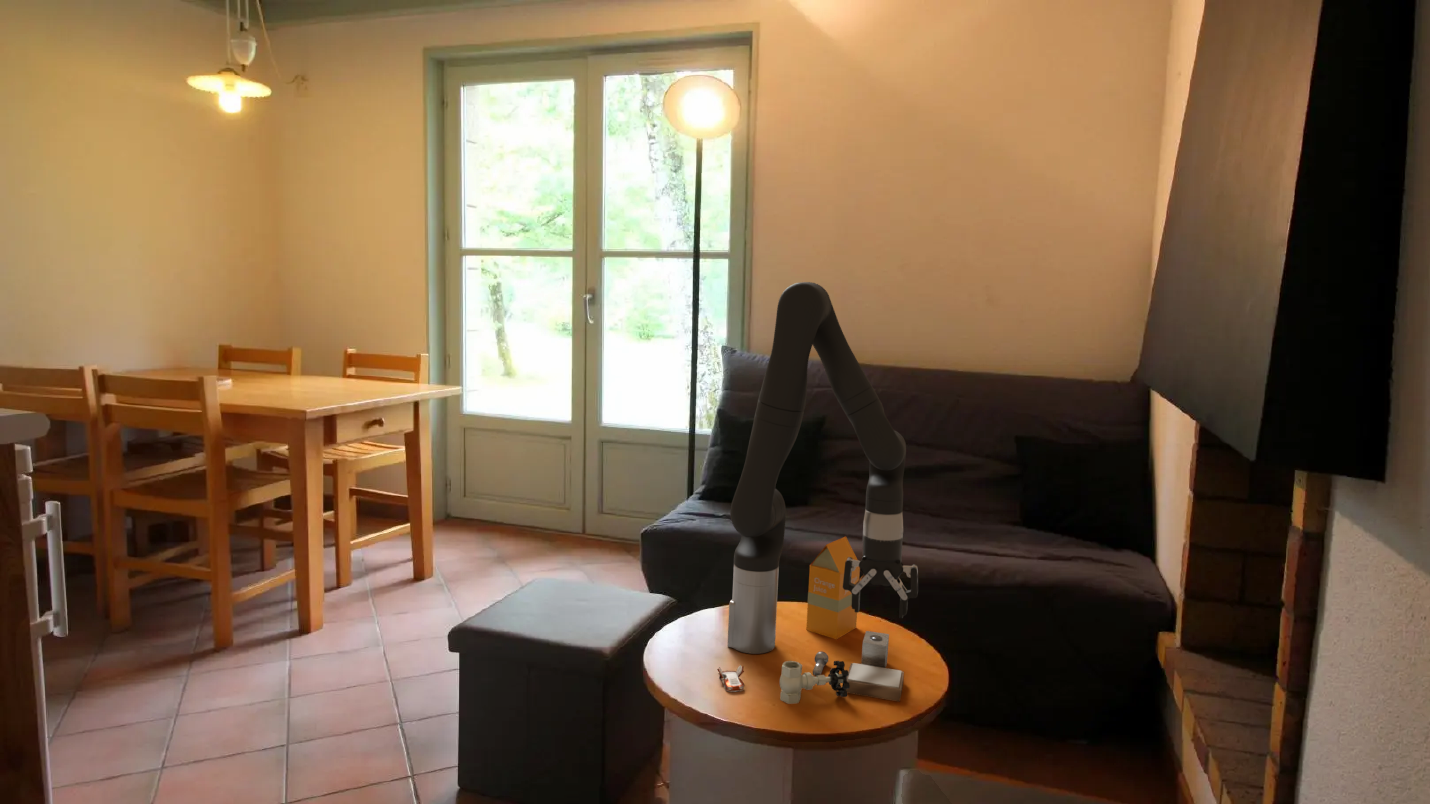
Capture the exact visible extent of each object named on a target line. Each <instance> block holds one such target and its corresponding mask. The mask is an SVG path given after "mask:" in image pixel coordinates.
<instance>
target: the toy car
mask: <svg viewBox="0 0 1430 804" xmlns="http://www.w3.org/2000/svg"><path fill="white" fill-rule="evenodd" d="M744 667H745V666H742V665H741V664H740V665H739V666H737V669H736V670H722V669H721V667H720V666H719V667H718V668H717V671H718V673H717V674H718V675H719V676H718V677H719V678H718V679H720V680H721V682H722V684H723V689H724V690H725V691H726V692H730V693H732V692H733V693H734V692H742V691H744V689H745V685H744V682H743V680H742V679H741V678H740V677H741V676H742V674H743V673H744V672H745V671H744Z"/></svg>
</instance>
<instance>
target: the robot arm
mask: <svg viewBox="0 0 1430 804" xmlns="http://www.w3.org/2000/svg"><path fill="white" fill-rule="evenodd" d="M830 297H831V296H830V295H829V293H828V292H827V290H826V289H825V288H824V287H823V286H822V285H820V284H819V283H815V282H811V281H802V282H795V283H793V284H791V285H789V286H787V288H785V289H784V290H783V292H782V293H781V295H780V296H779V298H778V303H777V307H776V308H777V309H776V318H775V324H774V325H775V326H774V332H773V333H774V335H773V339H772V340H773V342H772V348H771V353H770V356H769V360H768V363H767V366H766V369H765V371H764V372H765V373H764V377H763V379H762V380H763V381H762V385H761V387H760V388H761V389H760V392H759V396H758V399H757V404H756V409H755V413H754V418H753V422H752V423H753V424H752V428H751V433H750V437H749V442H748V446H747V451H746V455H745V460H744V461H745V462H744V465H743V469H742V472H741V476H740V478H739V481H738V484H737V487H736V490H735V491H734V495H733V498H732V501H731V505H730V511H729V513H730V520H731V521H730V522H731V524H732V525H733V528H734V529H735V531H736V532H737V533H738V534H739V535H741V538H740V541H739V543H738V545H737V546H736V548H735V551H734V553H733V576H732V577H733V578H732V599H730V601H729V604H728V624H727V625H728V628H727V647H729V648H732V649H734V650H736V651H738V652H741V653H744V654H745V653H746V654H752V655H753V654H755V655H757V654H766V653H769V652H771V651H773V650H774V649H775V647H776V636H777V635H776V633H777V632H776V630H777V629H776V628H777V614H778V613H777V610H778V608H777V607H778V592H779V591H778V589H779V588H778V587H779V568H780V566H779V565H780V559H781V556H782V551H783V548H784V542H785V541H784V540H785V530H786V515H787V509H786V503H785V500H784V497H783V495H782V493H781V492H780V491H779V490H778V489H777V488H776V486H777V485H776V484H777V481H778V478H779V475H780V472H781V470H782V468H783V467H784V464H785V461H786V460H787V458H788V456H789V455H790V452H791V450H792V448H793V447H794V444H795V442H796V440H797V437H798V434H799V432H800V428H801V425H802V421H803V418H804V412H805V408H806V405H807V404H806V403H807V398H808V397H807V395H808V367H809V359H810V358H809V357H810V356H811V355H810V354H811V351H812V347H814V350H815V351H816V353H817V355H818V357H819V359H820V362H821V363H822V365H823V368H824V370H825V374H826V376H827V380H828V382H829V385H830V387H831V389H832V392H833V395H834V397H835V398H836V400H837V402H838V403H839V405H840V407H841V409H842V410H843V412H844V415H845V416H846V418H847V419H848V420H849V422H850V424H851V425H852V427H853V429H854V432H855V434H856V436H857V439H858V442H859V444H860V446H861V449H862V450H863V452H864V454H865V457H866V458H867V460H868V461H869V468H868V470H869V471H868V473H869V475H868V476H869V478H868V481H867V485H866V489H865V491H866V492H865V510H864V516H863V523H862V524H863V525H862V526H863V528H862V545H861V546H862V547H861V549H862V552H861V560H859V559H857V560H853V559H852V558H851V557H848V558H847V560H846V562H845V570H844V579H843V589H844V590H848V591H850V592H851V593H852V605H851V607H852V609H855V612H857V614H859V612H860V608H861V607H860V604H861V603H860V602H861V590H862V589H863V588H864V587H865V586H866V585H867V584H868V583H870V584H871V585H873V586H877V585H878V586H879V585H881V586H883V587H889V586H891V587H892V588H893V589H894V591H895V592H897V594H898V595H899V597H900V598H899V607H898V608H899V609H898V611H899V612H898V618H899V619H903V618H904V616H906V615H907V613H908V604H909V602H908V601H909V599H916V598H918V593H919V570H918V568H919V566H918V565H917V564H915V563H913V564H912V565H904V564H903V562H902V557H903V555H902V554H903V534H904V518H903V510H904V509H903V507H904V486H903V485H904V483H903V482H904V475H905V473H904V472H905V465H906V454H907V444H906V441H905V439H904V436H902V434H901V433H900V432H898V431H897V430H895V429H894V428H893V427H892V424H891V422H890V421H889V419H888V418H887V416H886V413H885V409H884V406H883V403H882V401H881V399H880V398H879V396H878V394H877V392H876V390H875V389H874V387H873V386H872V384H871V381H870V380H869V378H868V376H867V375H866V373H865V372H864V370H863V368H862V366H861V365H860V363H859V360H857V358H856V356H855V353H854V351H852V348H851V347H850V345H849V342H848V340H847V338H846V337H845V334H844V332H843V330H842V328H841V327H842V326H841V325H840V321H839V320H838V317H837V315H836V314H837V313H836V312H835V309H834V305H833V302H832V301H831V298H830ZM858 566H859V568H860V572H861V573H862V574H863V575H862V576H861V577H859V581H858V582H857V583H856V584H853V583H851V575H852V571H854V570H855V569H856V567H858ZM903 572H904V573H906V577H907V578H910V589H907V588H906V587H905V585H904V584H903V582H902V580H901V578H900V576H901V574H903Z"/></svg>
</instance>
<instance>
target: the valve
mask: <svg viewBox="0 0 1430 804" xmlns="http://www.w3.org/2000/svg"><path fill="white" fill-rule="evenodd" d="M833 666H835V667H832V668H831V669H830V671H829V673H828V675H827V676H826V675H825V674H821V675H817V676H814V675H813V673H811V672H809V671H808V672H803V664H801V662H798V661H795V660H786V661H784V662H783V663H782V666H781V675H780V677H779V687H780V699H779V700H780V701H781V702H783V703H786V704H788V705H790V704H791V705H793V704H799V702H800V700H801V698H802V697H801V695H802V694H801V693H802V690H803V689H804V690H806V691H808V690H809V691H810V690H813V687H815V686H825V685H826V683H828V684H829V686H830V687H831V689H832V690H833V691H834V692H835V694H836V697H840V698H847V697H848V693H847V691H846V689H849V688H850V684H849V682H847V676H848V675H849V673H848V671H849V669H845V666H846V663H845V660H834V661H833ZM840 672H841V673H840ZM841 684H842V685H841Z"/></svg>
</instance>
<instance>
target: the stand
mask: <svg viewBox="0 0 1430 804" xmlns="http://www.w3.org/2000/svg"><path fill="white" fill-rule="evenodd" d="M848 673H849V675H848V676H847V682H849V684H850V688H849V689H846V691H847V694H852V695H859V696H863V697H864V696H865V697H870V698H876V699H883V700H888V701H894V702H900V701H901V697H902V692H903V686H904V675H905V674H904V673H905V672H904V671H903V670H901V669H894V668H893V669H892V668H887V667H886V668H882V667H875V666H869V665H863V664H861V663H855V662H853V663H850V666H849V669H848Z"/></svg>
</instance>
